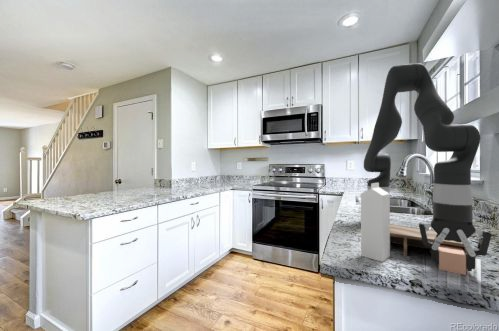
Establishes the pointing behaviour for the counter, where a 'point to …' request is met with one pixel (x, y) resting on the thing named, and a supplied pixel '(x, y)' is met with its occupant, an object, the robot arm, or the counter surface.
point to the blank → (452, 258)
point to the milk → (375, 223)
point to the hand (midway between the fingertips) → (452, 266)
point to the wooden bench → (415, 237)
